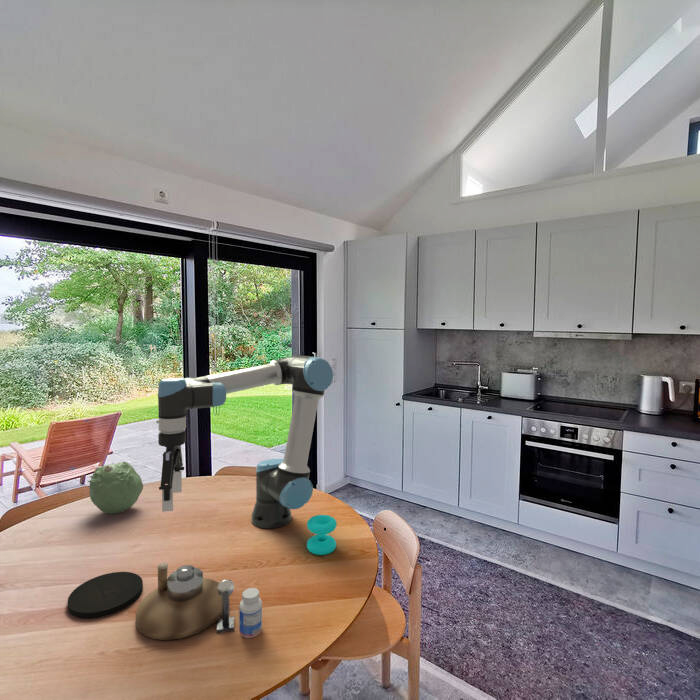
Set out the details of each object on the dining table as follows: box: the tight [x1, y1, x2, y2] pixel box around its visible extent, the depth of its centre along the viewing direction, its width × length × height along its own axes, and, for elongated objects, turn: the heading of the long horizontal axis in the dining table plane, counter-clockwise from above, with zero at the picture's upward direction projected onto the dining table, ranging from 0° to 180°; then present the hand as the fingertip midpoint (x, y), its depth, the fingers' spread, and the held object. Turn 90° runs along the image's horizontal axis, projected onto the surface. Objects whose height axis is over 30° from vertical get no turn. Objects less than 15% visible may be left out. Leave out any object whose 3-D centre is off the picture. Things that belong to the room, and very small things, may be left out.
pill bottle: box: [238, 587, 263, 639], centre depth 103 cm, size 6×5×10 cm
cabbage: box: [87, 461, 144, 515], centre depth 166 cm, size 16×19×20 cm
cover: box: [167, 564, 204, 602], centre depth 114 cm, size 9×9×6 cm
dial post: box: [216, 578, 235, 634], centre depth 105 cm, size 4×4×12 cm
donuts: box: [306, 514, 338, 556], centre depth 142 cm, size 10×10×10 cm
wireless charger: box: [67, 571, 144, 620], centre depth 115 cm, size 18×18×2 cm
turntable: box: [135, 562, 222, 641], centre depth 110 cm, size 22×22×8 cm
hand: (172, 501), depth 126 cm, fingers open, 13 cm apart
